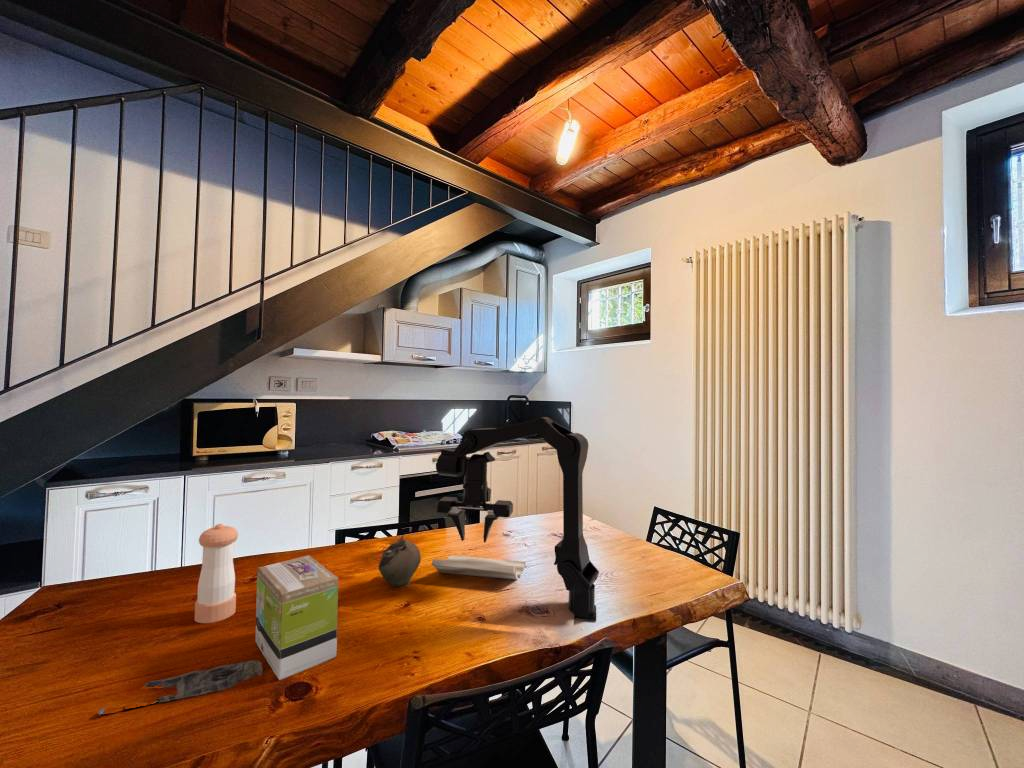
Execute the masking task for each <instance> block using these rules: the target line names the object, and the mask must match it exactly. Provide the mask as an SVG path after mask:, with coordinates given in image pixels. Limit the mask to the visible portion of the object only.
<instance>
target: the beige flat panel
mask: <svg viewBox="0 0 1024 768" xmlns="http://www.w3.org/2000/svg"><path fill="white" fill-rule="evenodd" d="M446 560H451V561H462V562H473V563H484V564H495V565H506V566H514V567H515V569H516V571H517V573H518V578H522V577H521V576H522V575H523V571H524V568H525V566H526V561H521V560H520V561H519V560H509V559H508V560H507V559H499V558H498V559H496V558H485V557H474V556H473V557H472V556H464V555H452V554H451V555H449V556H447V559H446Z"/></svg>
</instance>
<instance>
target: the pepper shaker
mask: <svg viewBox="0 0 1024 768" xmlns="http://www.w3.org/2000/svg"><path fill="white" fill-rule="evenodd" d="M238 536H239V533H238V530H237V529H236V528H235V527H233V526H228V525H224V524H223V523H217V524H216V525H214V526H213V527H211V528H208V529H206V530H204V531H203V532H202V533H201V534H200V536H199V538H198V543H199V545H200V546H201V547H202V559H201V560H202V561H201V570H200V573H199V580H198V584H197V599H196V600H195V603H194V619H193V620H194V622H196V623H199V624H212V623H216V622H221V621H224V620H226V619H227V618H230V617H232V616H233V615H234V614H235V613H236V608H237V607H236V606H237V593H236V592H235V587H236V573H235V565H234V543H235V542H236V541H237V539H238Z"/></svg>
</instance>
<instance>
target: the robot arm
mask: <svg viewBox="0 0 1024 768" xmlns="http://www.w3.org/2000/svg"><path fill="white" fill-rule="evenodd" d="M537 435H538V436H540V437H541V438H542V439H543V440H544V441H545V442H546V443H547V444H548V445H549V446H550V447H552V448H553V449H554V450H556V455H557V461H558V465H559V467H560V469H561V472H562V497H563V498H562V503H563V505H562V507H563V509H562V510H563V514H562V516H563V517H562V518H563V520H562V521H563V524H562V525H563V534H562V535H563V537H562V538H561V540H559V541H558V543H557V544H555V545H554V555H555V559H554V563H553V565H554V566H556V569H557V573H558V575H560V577H561V578H562V579H563V584H564V586H565V589H566V591H568V610H569V611H570V612H571V613H572V614H573V619H574V620H581V621H591V622H597V606H596V604H595V602H596V601H595V600H596V599H595V598H596V596H595V594H596V593H595V592H596V585H595V584H594V583H595V581H597V579H598V577H599V574H600V571H599V569H598V568H597V567H596V566H595V565H594V564H593V563H592V561H591V560H590V555H589V550H588V544H587V541H586V539H585V537H584V521H583V520H584V517H583V515H584V513H583V511H584V509H583V507H584V506H583V496H584V495H583V473H584V469H585V465H586V462H587V457H588V454H589V453H588V452H589V441H588V439H587V438H586V437H585V436H584V435H583V434H581V433H579V432H573V431H571V430H569V429H568V428H566V427H564V426H563V425H561V424H558V423H557V422H556V421H554V420H552V419H551V418H550V417H548V416H547V417H546V416H544V417H543V416H542V417H537V418H535V419H531V420H528V421H522V422H519V423H514V424H509V425H504V426H502V427H501V426H500V427H494V428H493V427H489V428H488V427H485V428H473V429H467V430H465V431H464V432H463V434H462V436H461V441H460V442H459V443H458V445H457V447H456V448H455V449H450V448H443V449H441V450H440V454H439V456H438V457H437V460H436V462H435V470H436V473H437V474H438V475H439V476H448V477H458V478H460V477H462V476H464V477H463V484H462V489H463V500H462V501H459V499H458V497H455V496H443V497H442V498H440V499H439V500H438V501H437V502H436V505H435V512H436V513H438V514H439V513H440V514H442V513H443V514H447V517H450V518H451V520H452V521H453V523H454V525H455V527H456V529H457V532H458V535H459V537H460V540H461V541H463V542H464V540H465V539H466V538H465V536H466V531H465V529H466V528H465V515H466V513H465V512H466V511H467V510H468V511H479V512H487V514H486V515H485V517H484V525H483V527H484V529H483V543H487V541H488V537H489V535H490V531H491V529H492V525H493V523H494V522H495V521H497V520H498V519H499V518H509V517H511V515H512V514H513V512H514V503H513V502H512V501H511V500H504V499H503V500H499V499H498V500H496V502H495V503H488V502H491V497H492V496H491V495H492V489H491V488H490V487H489V486H488V463H492V462H495V461H496V458H495V457H494V456H493V455H492V454H491V452H490V451H486V450H488V449H490V448H493V447H495V446H497V445H499V444H501V443H504V442H510V441H514V440H518V439H522V438H528V437H533V436H537ZM482 451H483V454H482V453H481V454H480V453H479V452H482ZM484 451H486V452H484ZM471 454H472V455H471ZM467 455H471V456H467Z"/></svg>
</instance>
